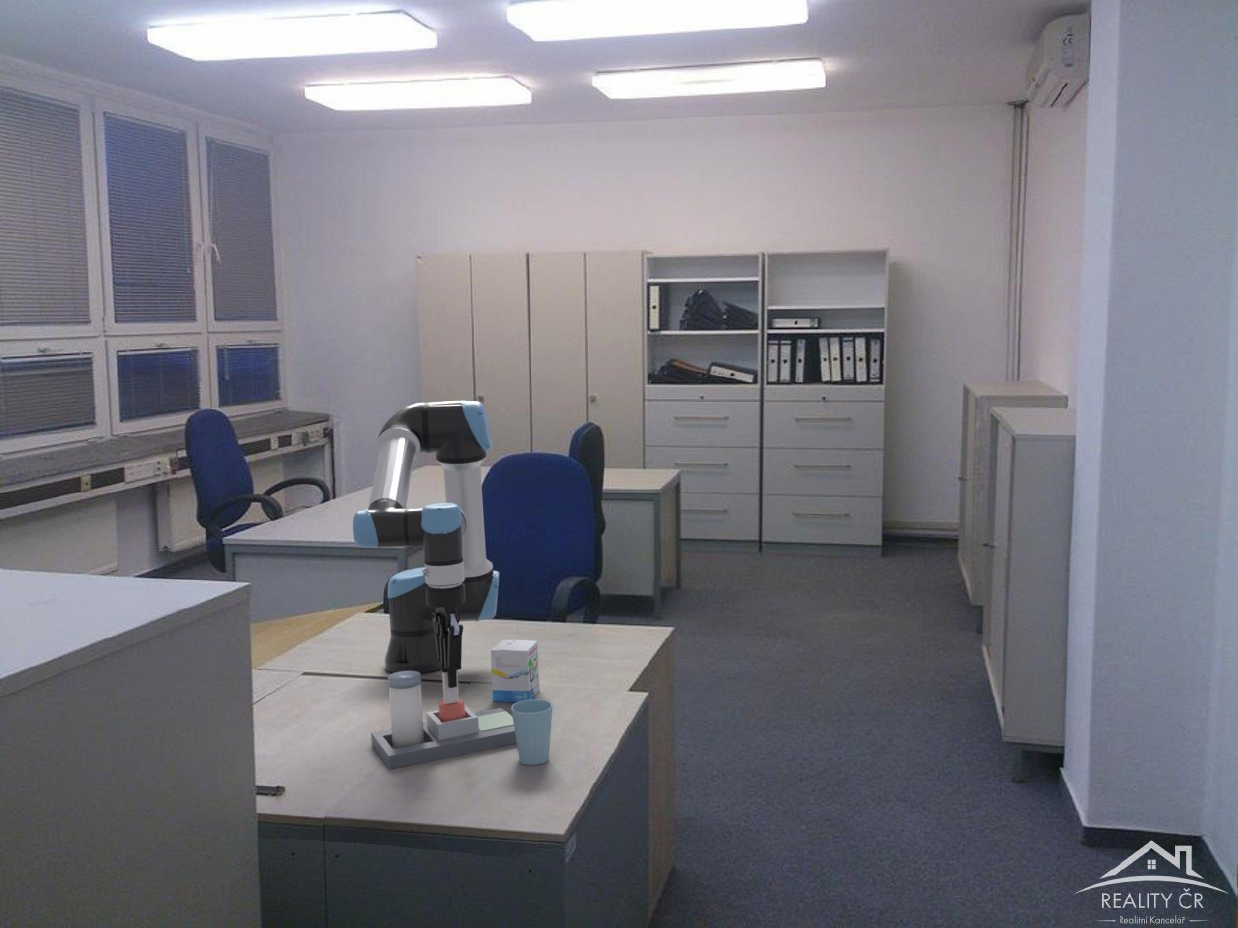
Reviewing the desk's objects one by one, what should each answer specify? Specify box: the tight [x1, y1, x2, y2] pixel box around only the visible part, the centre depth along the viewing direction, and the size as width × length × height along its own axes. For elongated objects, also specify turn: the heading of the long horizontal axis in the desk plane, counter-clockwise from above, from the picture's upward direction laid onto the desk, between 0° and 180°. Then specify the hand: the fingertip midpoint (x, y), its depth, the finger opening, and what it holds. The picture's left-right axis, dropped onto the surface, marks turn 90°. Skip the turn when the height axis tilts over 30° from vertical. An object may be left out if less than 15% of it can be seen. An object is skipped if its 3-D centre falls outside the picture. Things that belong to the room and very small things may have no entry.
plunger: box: [438, 698, 465, 722], centre depth 216 cm, size 5×5×5 cm
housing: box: [370, 705, 517, 770], centre depth 216 cm, size 14×27×6 cm, turn 116°
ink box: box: [490, 639, 540, 703], centre depth 242 cm, size 8×8×12 cm
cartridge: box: [387, 671, 425, 749], centre depth 212 cm, size 6×6×15 cm
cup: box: [510, 698, 554, 766], centre depth 206 cm, size 8×8×10 cm
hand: (451, 701), depth 216 cm, fingers closed
